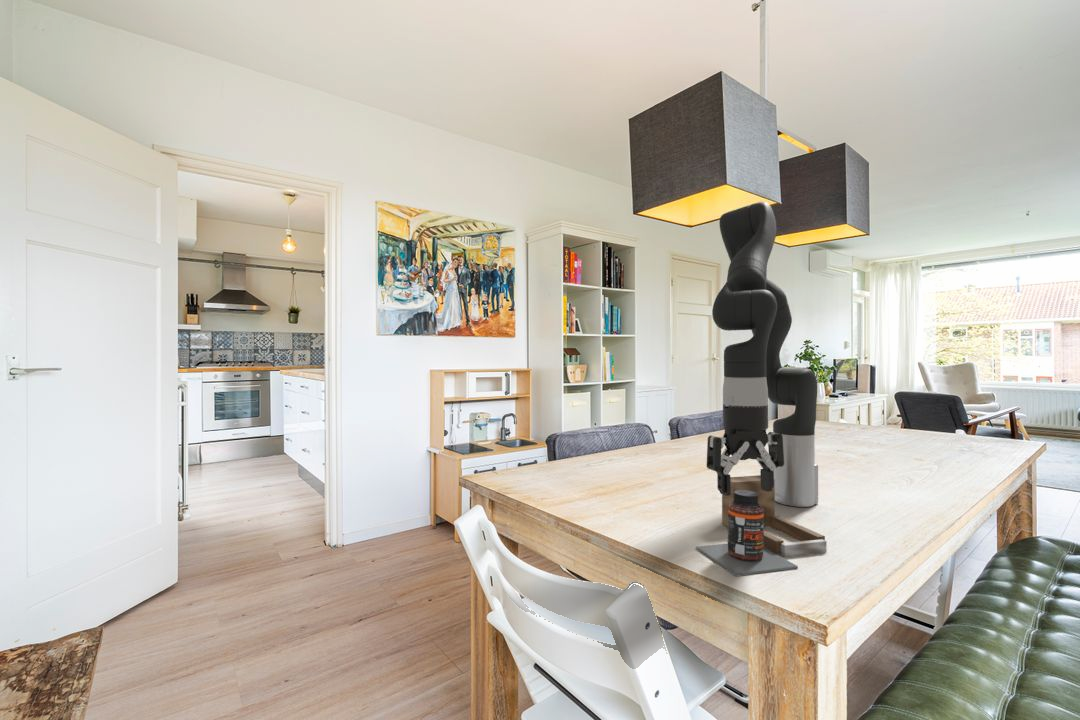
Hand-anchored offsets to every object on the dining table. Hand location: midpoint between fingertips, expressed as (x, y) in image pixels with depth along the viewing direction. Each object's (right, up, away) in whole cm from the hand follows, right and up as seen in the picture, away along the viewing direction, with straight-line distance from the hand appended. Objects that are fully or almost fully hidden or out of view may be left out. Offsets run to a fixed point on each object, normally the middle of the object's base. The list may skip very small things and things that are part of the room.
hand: (745, 492), depth 88 cm
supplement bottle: (0, -12, 0) cm, 12 cm away
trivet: (0, -12, 0) cm, 12 cm away
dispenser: (+9, -12, +11) cm, 19 cm away
